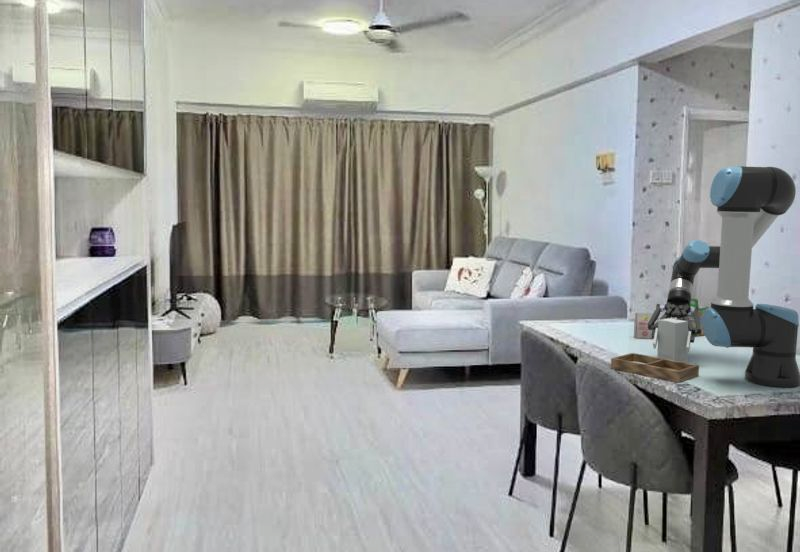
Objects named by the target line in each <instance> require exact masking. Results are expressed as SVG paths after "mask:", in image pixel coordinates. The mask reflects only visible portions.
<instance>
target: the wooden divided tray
mask: <svg viewBox="0 0 800 552" xmlns="http://www.w3.org/2000/svg"><path fill="white" fill-rule="evenodd" d="M610 369H612V370H617V371H622V372H627V373H631V374H636V375H639V376H640V375H641V376H645V377H651V378H653V379H654V378H655V379H659V378H660V379H659V380H663V379H665V380H664V381H668V380H670V381H669V382H673V381H674V383H677V382H679V383H681V381H682V382H685V381H688V380H690V378H691V379H693V377H694V378H696V377H698V376H699V375H700V374H699V372H700V365H697V364H693V363H689V362H688V363H683V362H678V361H673V360H668V359H662V358H658V356H656V357H655V356H652V355H651V356H650V355H646V354H640V353H635V352H630V353H626V354H623V355H619V356H615V357H611V359H610ZM687 379H688V380H687ZM684 380H685V381H684Z"/></svg>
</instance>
